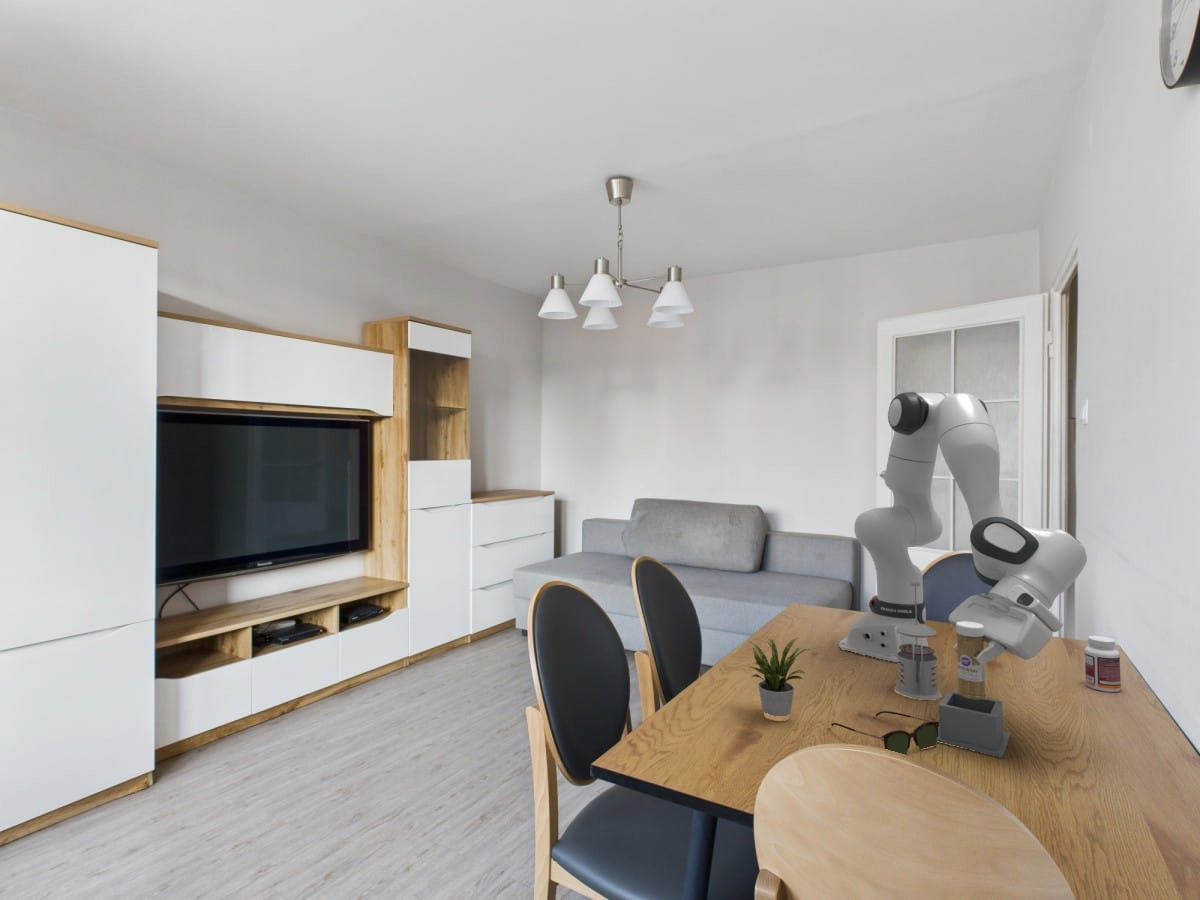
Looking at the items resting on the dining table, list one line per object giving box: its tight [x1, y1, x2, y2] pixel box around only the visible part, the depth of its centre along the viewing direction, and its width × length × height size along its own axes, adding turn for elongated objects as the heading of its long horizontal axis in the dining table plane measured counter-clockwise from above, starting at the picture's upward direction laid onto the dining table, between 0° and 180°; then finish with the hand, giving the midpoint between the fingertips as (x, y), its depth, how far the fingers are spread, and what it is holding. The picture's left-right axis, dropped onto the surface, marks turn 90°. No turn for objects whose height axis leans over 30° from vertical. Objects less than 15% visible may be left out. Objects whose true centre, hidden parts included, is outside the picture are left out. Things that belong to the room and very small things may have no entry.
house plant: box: [747, 635, 816, 716], centre depth 129 cm, size 14×14×16 cm
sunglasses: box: [830, 710, 940, 756], centre depth 119 cm, size 14×15×5 cm
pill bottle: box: [1084, 635, 1122, 693], centre depth 141 cm, size 6×6×11 cm
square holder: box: [937, 690, 1011, 759], centre depth 117 cm, size 11×11×7 cm
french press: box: [894, 580, 943, 700], centre depth 139 cm, size 10×12×25 cm
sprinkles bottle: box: [955, 621, 987, 700], centre depth 117 cm, size 5×5×13 cm
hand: (967, 657), depth 117 cm, fingers closed on sprinkles bottle, 4 cm apart
